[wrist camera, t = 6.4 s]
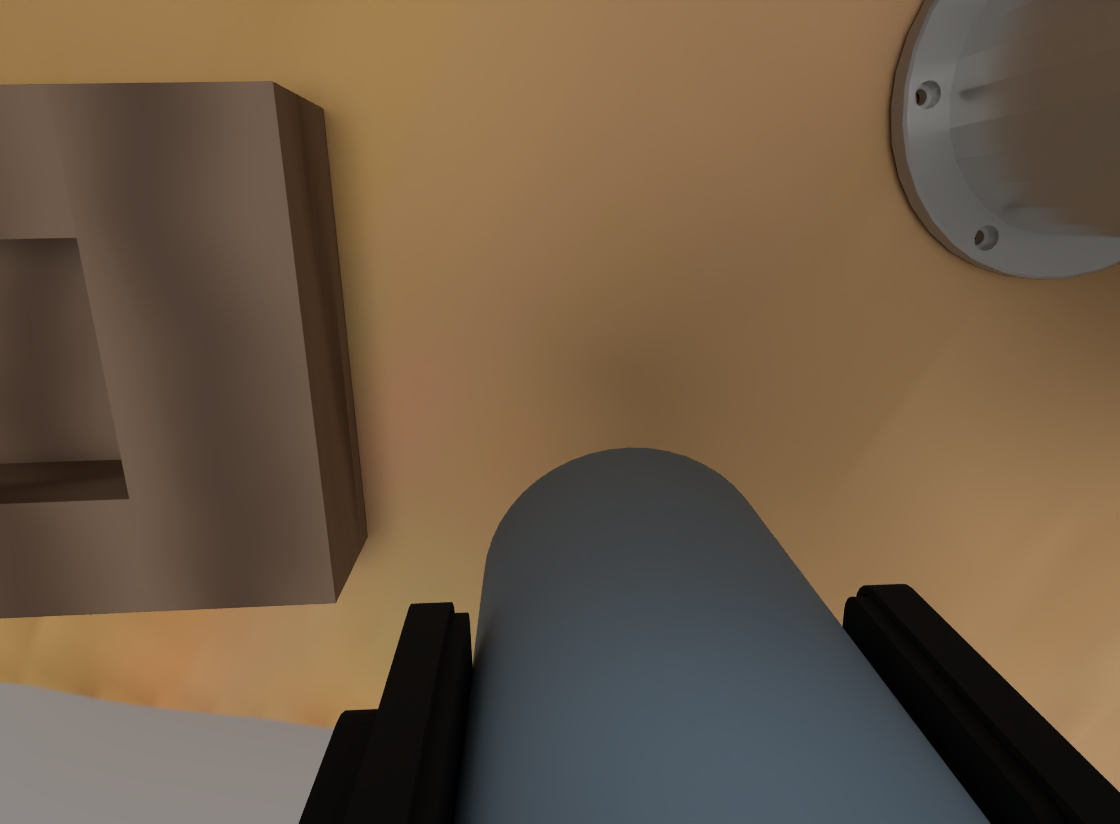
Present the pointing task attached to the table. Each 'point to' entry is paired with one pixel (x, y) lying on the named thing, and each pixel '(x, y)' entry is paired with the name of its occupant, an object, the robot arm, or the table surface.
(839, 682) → the peg
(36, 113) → the peg block
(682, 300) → the table surface
